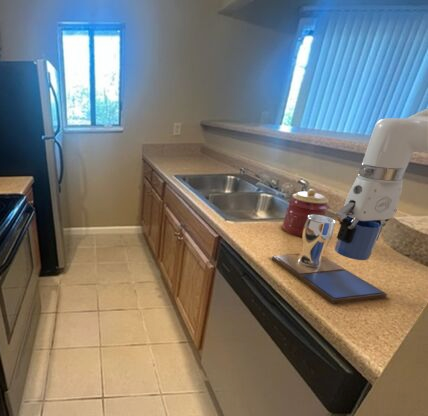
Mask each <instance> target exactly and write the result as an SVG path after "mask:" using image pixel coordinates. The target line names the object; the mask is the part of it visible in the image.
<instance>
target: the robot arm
mask: <svg viewBox="0 0 428 416" xmlns="http://www.w3.org/2000/svg"><path fill="white" fill-rule="evenodd" d="M413 153H423V154H428V108H425V109H423V110H421V111H418V112H417V113H415V114H412V115H410V116H408V117H407V118H405V117H401V118H400V117H388V118H382V119H380V120H378V121H376V123H375V125H374V126H373V130H372V132H371V136H370V139H369V142H368V145H367V147H366V151H365V153H364V156H363V158H362V162H361V165H360V169H359V172H358V174H357V177H356V178H355V180H354V182H353V184H352V186H351V187H350V189H349V192H348V193H347V197H346V199H345V200H344V201H345V202H344V205H343V207H341V208H340V209H338V210H337V211H336V212H335V216H336V218H337V221H338V222H339V223H338V224H339V225H340V226H339V230H338V233H337V235H336V239H339V240H341V241H343V242H345V243H350V242H351V240H352V237H353V234H354V231H355V229H353V228H354V226H355V225H356V224H357V223H358V222H359V220H360V221H374V222H377V223H379V224H380V225H381V226H382V228H381V230H380V233H379V235H378V238H377V240H376V242H377V241H378V240H379V238H380V234H381V233H382V229H383V227H386V226H387V225H386V224H387V222H388V221H389V220H390V219H392V218H393V217H394V216H395V214H396V213H397V211H398V210H397V208H398V205H399V202H400V199H401V196H402V192H403V184H404V180H403V178H404V175H405V173H406V170H407V168H408V166H409V163H410V161H411V158H412V156H413ZM350 218H352V219H353V220H352V221H351V223H350V221H349V219H350Z"/></svg>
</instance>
